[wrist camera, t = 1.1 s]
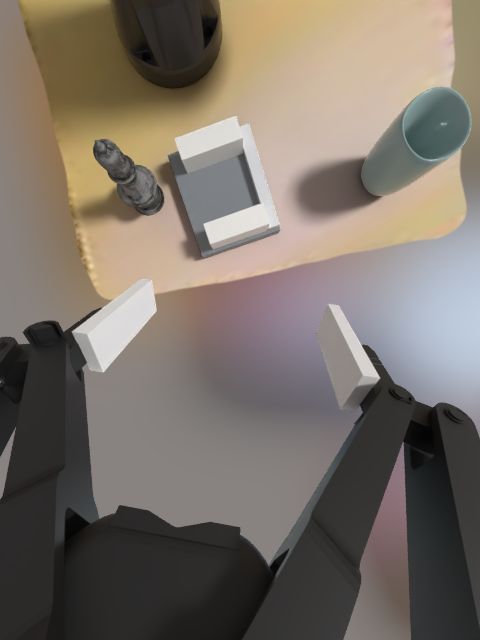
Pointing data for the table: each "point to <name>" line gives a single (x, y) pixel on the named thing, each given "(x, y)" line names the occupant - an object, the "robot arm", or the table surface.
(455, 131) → the cup
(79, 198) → the table surface
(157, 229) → the table surface
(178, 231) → the table surface
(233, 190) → the rail board
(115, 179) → the salt shaker
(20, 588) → the robot arm
